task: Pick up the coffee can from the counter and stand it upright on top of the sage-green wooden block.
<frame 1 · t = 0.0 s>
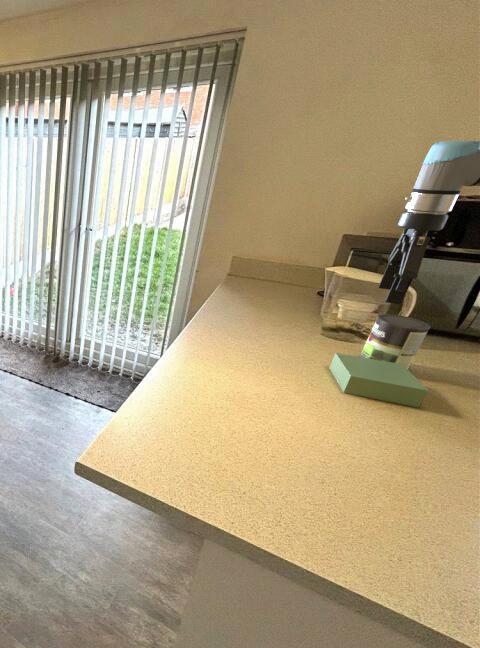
hand: (388, 295, 102), 23 cm above the countertop, tool pointing down, fingers open, 13 cm apart
coffee can: (381, 365, 114), on the countertop
riser block: (369, 386, 104), on the countertop
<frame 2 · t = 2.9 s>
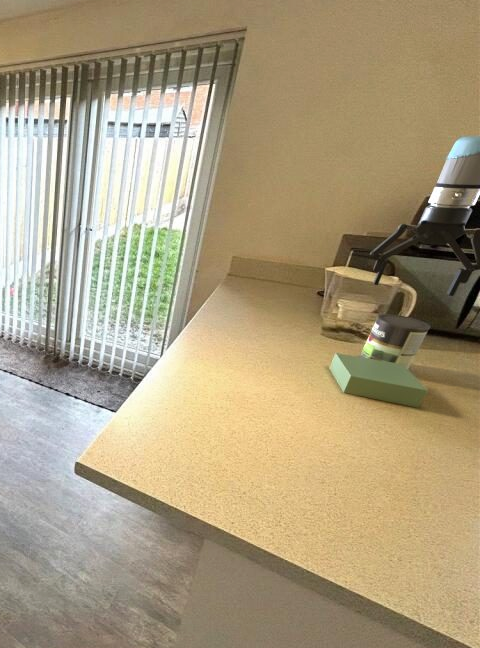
hand: (411, 289, 103), 24 cm above the countertop, tool pointing down, fingers open, 13 cm apart
nothing on the countertop moved.
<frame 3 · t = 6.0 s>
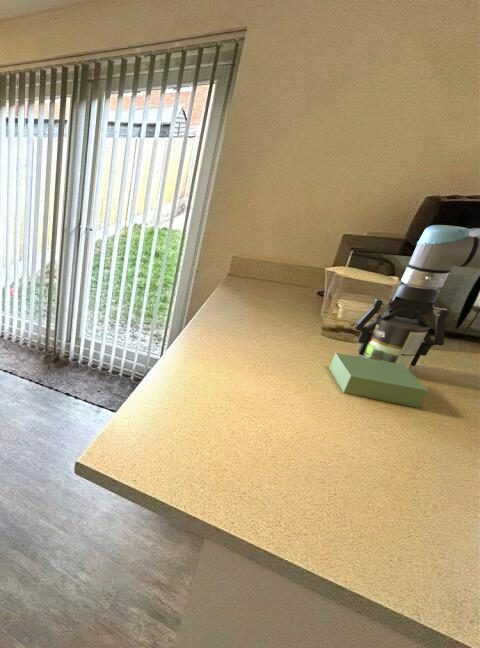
hand: (385, 358, 113), 2 cm above the countertop, tool pointing down, fingers closed on coffee can, 10 cm apart
coffee can: (382, 365, 114), on the countertop, touching gripper
everything else where it was.
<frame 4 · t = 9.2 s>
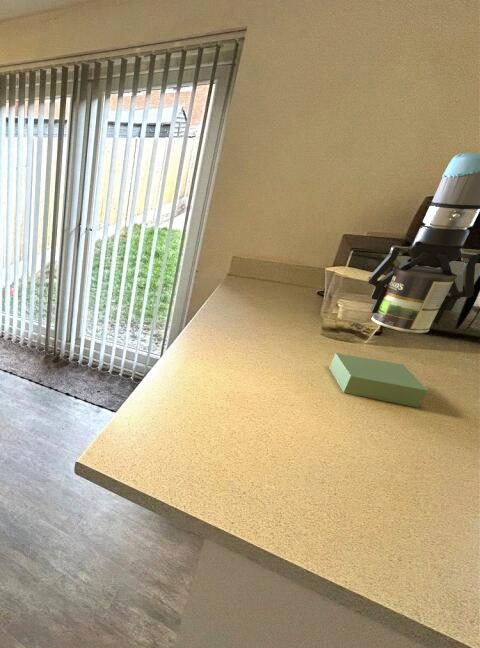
hand: (402, 316, 97), 19 cm above the countertop, tool pointing down, fingers closed on coffee can, 10 cm apart
coffee can: (398, 325, 98), point 17 cm above the countertop, touching gripper
everything else where it was.
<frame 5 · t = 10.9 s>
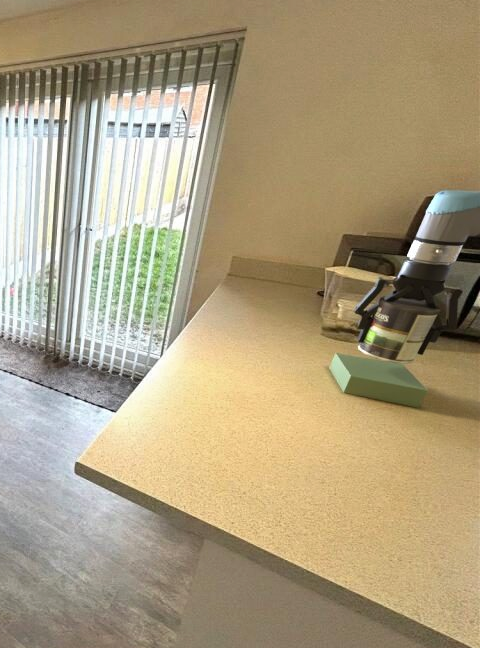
hand: (388, 346, 99), 12 cm above the countertop, tool pointing down, fingers closed on coffee can, 10 cm apart
coffee can: (384, 354, 100), point 9 cm above the countertop, touching gripper
everything else where it was.
when the fingers open (7 cm above the countertop, at t = 12.6 s): coffee can stays where it is, resting on riser block.
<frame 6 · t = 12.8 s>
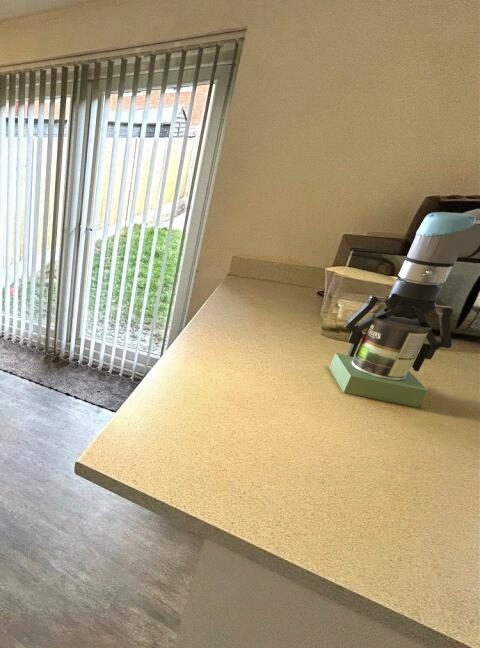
hand: (381, 361, 101), 8 cm above the countertop, tool pointing down, fingers open, 11 cm apart
coffee can: (377, 370, 102), point 5 cm above the countertop, touching riser block
riser block: (370, 386, 104), on the countertop, touching coffee can
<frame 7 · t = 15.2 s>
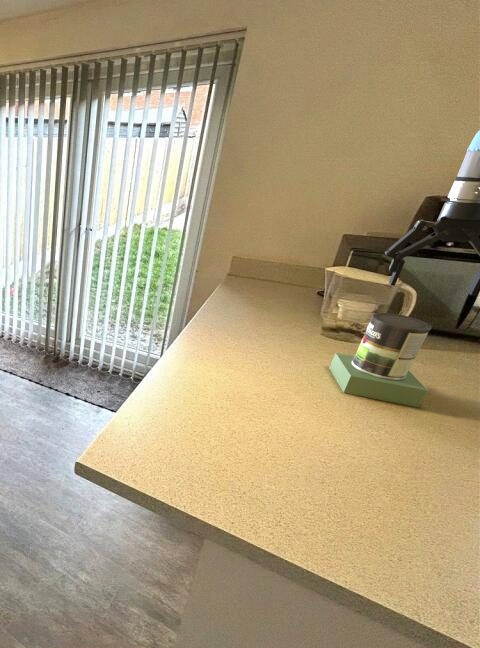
hand: (429, 289, 97), 26 cm above the countertop, tool pointing down, fingers open, 13 cm apart
nothing on the countertop moved.
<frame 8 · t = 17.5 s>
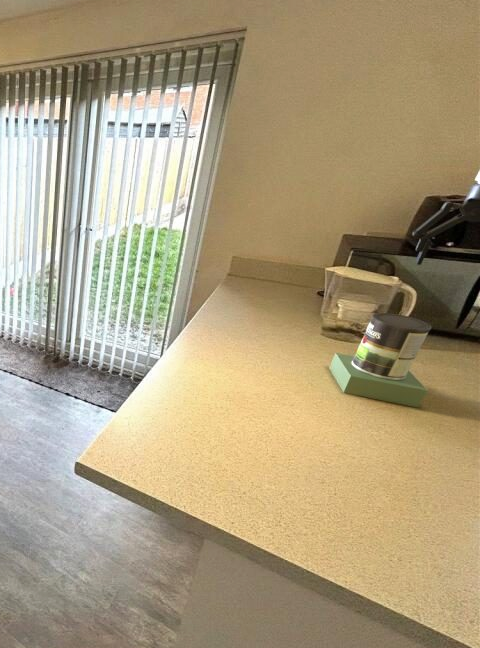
hand: (454, 267, 104), 29 cm above the countertop, tool pointing down, fingers open, 13 cm apart
nothing on the countertop moved.
at the end: coffee can inside the target area on the riser block (0.0 cm from its centre), point 4.8 cm above the riser block's base; coffee can tilted 0°; the gripper is holding nothing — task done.
